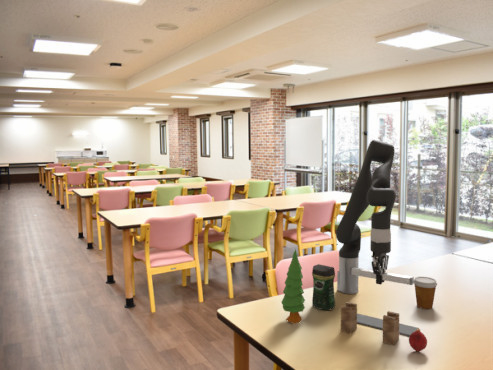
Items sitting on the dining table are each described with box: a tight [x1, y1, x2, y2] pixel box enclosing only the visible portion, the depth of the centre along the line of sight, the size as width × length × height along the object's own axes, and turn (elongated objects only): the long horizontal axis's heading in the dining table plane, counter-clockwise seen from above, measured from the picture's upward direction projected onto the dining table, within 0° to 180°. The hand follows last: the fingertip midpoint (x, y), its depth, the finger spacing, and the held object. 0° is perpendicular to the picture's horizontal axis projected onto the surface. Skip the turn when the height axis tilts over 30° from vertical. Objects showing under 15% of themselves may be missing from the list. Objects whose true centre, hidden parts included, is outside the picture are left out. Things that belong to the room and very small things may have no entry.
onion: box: [408, 328, 428, 353], centre depth 140 cm, size 6×6×8 cm
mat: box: [357, 312, 420, 337], centre depth 162 cm, size 28×8×1 cm, turn 53°
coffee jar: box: [311, 263, 336, 311], centre depth 180 cm, size 10×8×19 cm
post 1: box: [340, 301, 358, 334], centre depth 158 cm, size 4×6×10 cm, turn 143°
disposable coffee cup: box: [413, 276, 438, 310], centre depth 179 cm, size 10×10×12 cm
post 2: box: [382, 310, 400, 346], centre depth 148 cm, size 4×6×10 cm, turn 143°
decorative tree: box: [281, 248, 306, 324], centre depth 166 cm, size 10×9×30 cm
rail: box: [350, 267, 415, 286], centre depth 160 cm, size 24×3×3 cm, turn 54°
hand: (380, 282), depth 161 cm, fingers closed on rail, 2 cm apart
